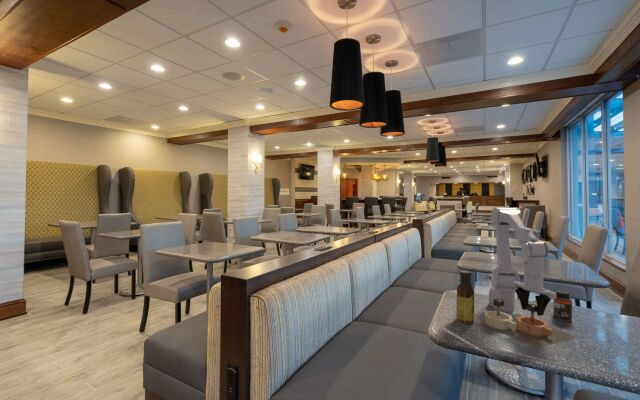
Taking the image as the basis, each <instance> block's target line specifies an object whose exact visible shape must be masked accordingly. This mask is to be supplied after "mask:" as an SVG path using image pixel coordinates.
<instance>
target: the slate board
mask: <svg viewBox="0 0 640 400" xmlns="http://www.w3.org/2000/svg"><path fill="white" fill-rule="evenodd" d="M510 315H511V316H512V319H513V322H514V323H516V330H513V329H509V330H501V329H496V328H492V327H490V326H488V325H486V324H485V320H484V319H481V320H480V319H479V320H477V322H478V323H480V324H482V325H484V326H485V327H488V328H491V329H492V330H494V331H496V332H499V333H500V334H502V335H505V336H507V337H509V338H511V339H513V340H515V341H517V342H519V343H521V344H523V345H525V346H527V347H529V348H531V349H537V348H540V347H544V346H546V347H547V346H549V345H553V344H558V343H562V342H566V341H570V340H574V339H578V338H579V337H577V336H575V335H573V334H570V333H567V332H565V331H562V330H560V329H558V328H554V327H553V326H550V325H548V328H550V329H552V330H553V336H552V337H550V336H548V335H546V336H543V337H539V336H532V335H528V334H525V333H523V332H521V331H519V330H518V329H517V317H521V316H524V315H522V314H519V313H514V314H510Z"/></svg>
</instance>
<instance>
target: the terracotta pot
mask: <svg viewBox="0 0 640 400" xmlns="http://www.w3.org/2000/svg"><path fill="white" fill-rule="evenodd" d="M530 320H531V316H525V315H523V316H521V317H517V329H518V330H519V331H521V332H523V333H525V334H528V335H532V336H539V337H543V336H546V335H548V336H550V337H552V336H553V330H552V329H550V328H548V326H549V324H548V322H547V321H545V320H542V319H540V318H537V317H534V322H531V321H530Z"/></svg>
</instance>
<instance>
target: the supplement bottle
mask: <svg viewBox="0 0 640 400" xmlns="http://www.w3.org/2000/svg"><path fill="white" fill-rule="evenodd" d="M555 293H556V299H552V300H553V304H552V306H553V308H552V312H553V313H552V317H553V318H555V319H557V320H559V321H564V322H567V323H570V322H572V319H573V299H572V298H571V297H570V292H569V291H566V290H559V289H558V290H556V292H555Z"/></svg>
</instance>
